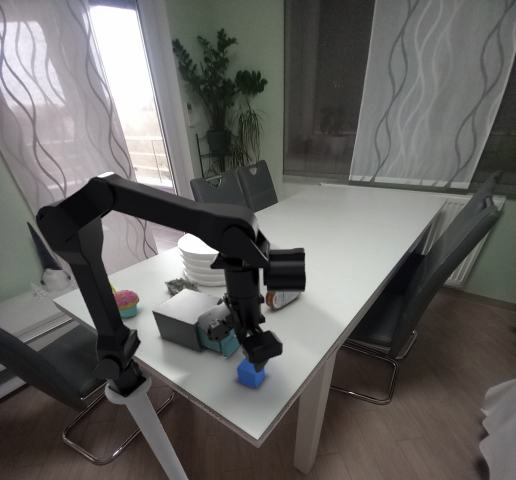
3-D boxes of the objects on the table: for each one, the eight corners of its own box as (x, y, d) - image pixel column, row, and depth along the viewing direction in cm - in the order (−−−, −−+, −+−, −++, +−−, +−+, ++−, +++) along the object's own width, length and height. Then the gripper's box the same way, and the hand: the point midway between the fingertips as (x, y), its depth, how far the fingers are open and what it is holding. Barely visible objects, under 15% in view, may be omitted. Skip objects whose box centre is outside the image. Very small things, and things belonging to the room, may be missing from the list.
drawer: (266, 336, 70) (265, 314, 66) (242, 364, 63) (239, 341, 59) (214, 320, 77) (210, 299, 73) (187, 343, 70) (181, 321, 65)
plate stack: (218, 294, 90) (212, 261, 83) (170, 271, 105) (162, 242, 98) (272, 265, 105) (272, 235, 98) (224, 249, 120) (220, 222, 113)
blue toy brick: (256, 388, 58) (254, 374, 56) (238, 381, 60) (236, 367, 57) (265, 376, 61) (264, 362, 58) (247, 369, 63) (246, 355, 60)
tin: (297, 292, 89) (298, 267, 83) (304, 295, 87) (306, 270, 82) (264, 311, 81) (263, 285, 76) (272, 315, 79) (272, 289, 74)
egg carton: (201, 294, 91) (199, 283, 88) (181, 302, 87) (178, 291, 85) (185, 283, 97) (182, 273, 94) (165, 291, 93) (162, 280, 91)
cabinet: (228, 325, 76) (224, 299, 71) (200, 352, 68) (193, 324, 63) (191, 313, 82) (185, 288, 76) (161, 337, 74) (151, 310, 68)
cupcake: (125, 324, 79) (109, 287, 72) (108, 316, 83) (90, 280, 75) (149, 310, 85) (136, 274, 77) (131, 303, 88) (117, 268, 81)
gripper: (185, 278, 51) (200, 342, 61) (212, 333, 37) (226, 403, 48) (241, 266, 54) (247, 329, 64) (285, 312, 40) (283, 383, 51)
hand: (249, 357), depth 56 cm, fingers open, 9 cm apart
